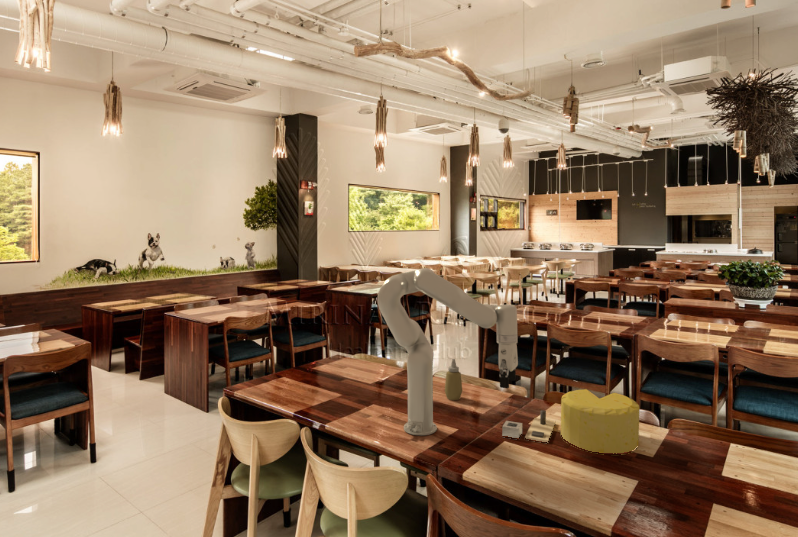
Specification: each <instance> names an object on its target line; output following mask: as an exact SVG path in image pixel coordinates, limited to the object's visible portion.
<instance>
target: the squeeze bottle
mask: <svg viewBox="0 0 798 537" xmlns="http://www.w3.org/2000/svg"><path fill="white" fill-rule="evenodd" d="M447 368H448V371H446V373H445V383H444V384H445V385H444V394H445V397H446V399H447V400H450V401H458V400H460V399H461V396H462V393H463V381H462V373H461V372H460V371H459V370H460V368H459V366H457V363H456V359H455V358H453V359H452V360H451V364H450V366H448V367H447Z"/></svg>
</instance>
